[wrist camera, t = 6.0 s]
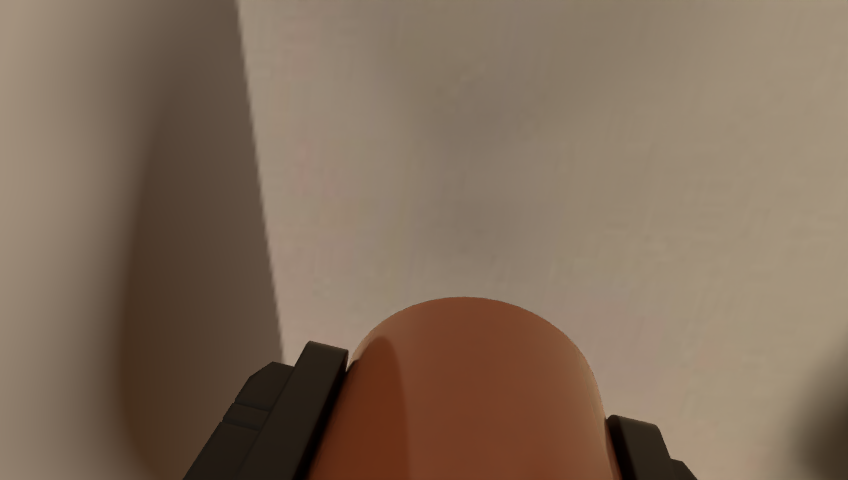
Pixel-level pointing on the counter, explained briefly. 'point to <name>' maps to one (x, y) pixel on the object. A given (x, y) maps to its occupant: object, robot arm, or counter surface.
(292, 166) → the counter surface
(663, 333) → the counter surface
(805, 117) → the counter surface
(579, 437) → the orange cylinder
